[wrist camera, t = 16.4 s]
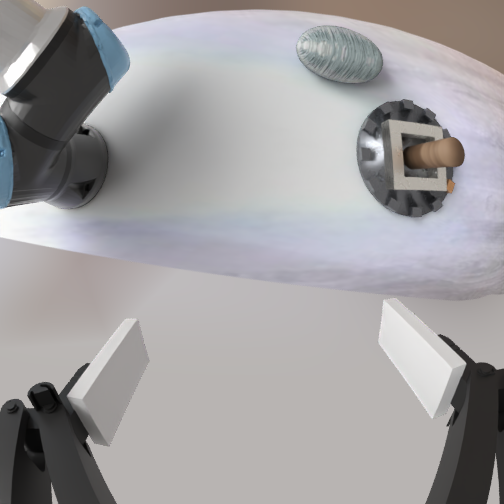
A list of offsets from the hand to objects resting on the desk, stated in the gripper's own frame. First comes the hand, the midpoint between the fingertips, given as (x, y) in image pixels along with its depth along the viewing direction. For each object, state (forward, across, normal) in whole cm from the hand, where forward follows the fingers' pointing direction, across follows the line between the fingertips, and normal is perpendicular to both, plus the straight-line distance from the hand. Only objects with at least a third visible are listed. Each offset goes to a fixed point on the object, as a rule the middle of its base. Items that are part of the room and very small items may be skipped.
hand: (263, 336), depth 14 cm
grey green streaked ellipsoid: (+32, +16, +27) cm, 45 cm away
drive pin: (+30, +28, +11) cm, 42 cm away
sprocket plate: (+31, +28, +11) cm, 43 cm away
